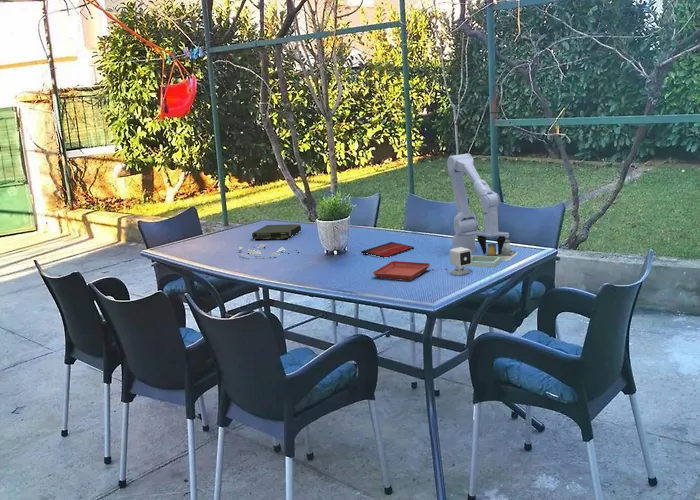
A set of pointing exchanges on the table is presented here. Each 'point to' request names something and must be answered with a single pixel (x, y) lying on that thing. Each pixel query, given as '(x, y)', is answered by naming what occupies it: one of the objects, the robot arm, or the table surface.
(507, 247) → the grey fuse
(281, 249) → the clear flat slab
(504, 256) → the fuse block
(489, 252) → the amber fuse
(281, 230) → the network switch
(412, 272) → the plant saucer
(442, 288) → the table surface
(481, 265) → the parts tray
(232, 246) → the table surface
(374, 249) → the binder
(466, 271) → the security camera
